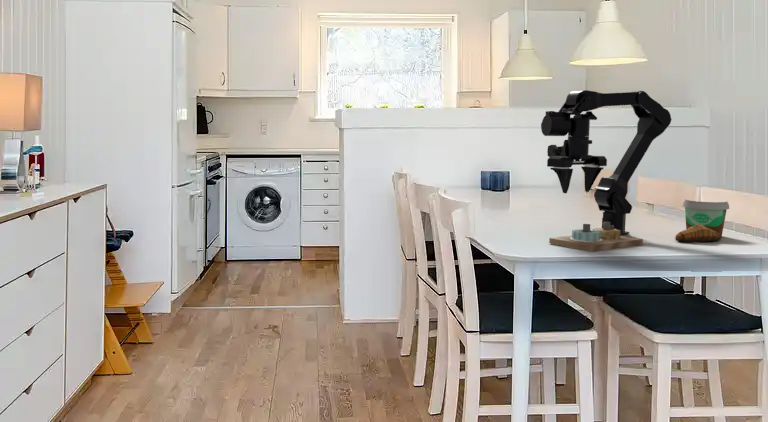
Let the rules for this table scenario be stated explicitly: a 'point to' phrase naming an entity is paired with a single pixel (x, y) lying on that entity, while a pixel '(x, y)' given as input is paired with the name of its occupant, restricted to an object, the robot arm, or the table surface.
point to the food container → (706, 214)
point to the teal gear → (586, 235)
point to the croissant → (698, 234)
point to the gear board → (607, 240)
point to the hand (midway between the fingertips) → (576, 192)
